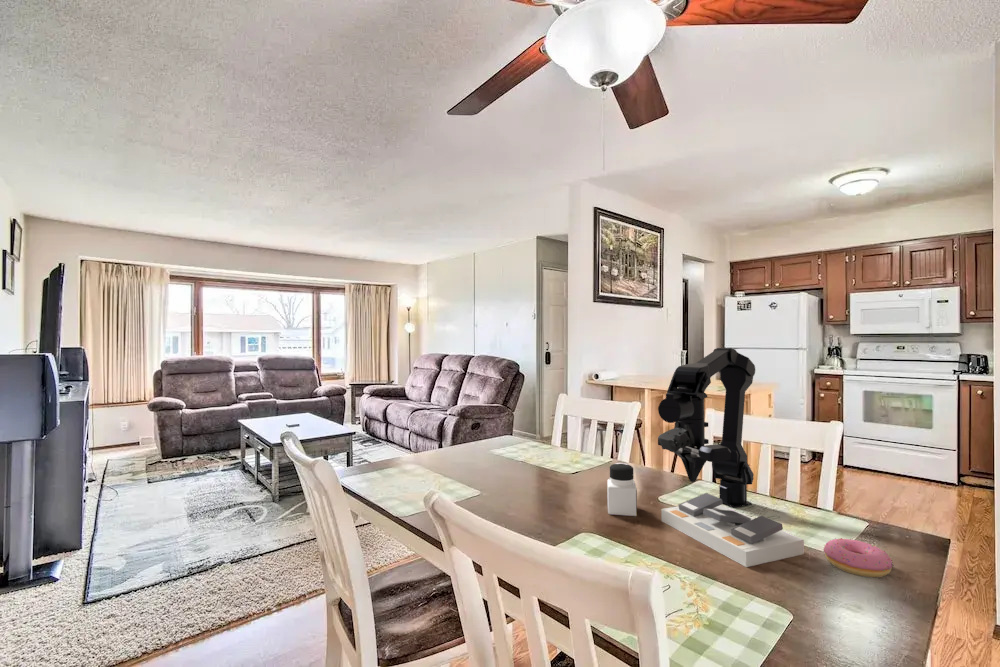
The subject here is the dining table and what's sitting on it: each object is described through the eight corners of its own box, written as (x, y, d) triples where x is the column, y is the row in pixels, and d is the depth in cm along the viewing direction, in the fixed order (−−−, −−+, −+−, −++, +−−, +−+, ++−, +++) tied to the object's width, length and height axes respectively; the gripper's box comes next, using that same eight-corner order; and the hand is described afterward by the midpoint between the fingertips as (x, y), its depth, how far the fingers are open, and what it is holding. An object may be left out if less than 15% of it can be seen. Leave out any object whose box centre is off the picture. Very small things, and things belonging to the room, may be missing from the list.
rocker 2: (762, 520, 104) (761, 515, 104) (782, 529, 99) (781, 523, 99) (731, 534, 101) (730, 528, 101) (751, 544, 96) (750, 538, 96)
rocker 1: (707, 497, 119) (706, 492, 119) (722, 503, 114) (721, 498, 114) (679, 509, 116) (678, 504, 116) (694, 516, 111) (693, 511, 111)
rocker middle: (732, 515, 111) (732, 510, 111) (750, 523, 106) (750, 517, 107) (702, 513, 108) (703, 507, 108) (719, 521, 103) (720, 515, 103)
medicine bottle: (637, 516, 119) (636, 469, 119) (608, 514, 121) (607, 467, 121) (634, 506, 126) (634, 462, 126) (607, 505, 128) (607, 460, 128)
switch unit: (712, 512, 122) (711, 498, 122) (803, 554, 98) (803, 536, 98) (661, 521, 116) (661, 506, 116) (746, 567, 93) (746, 548, 93)
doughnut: (821, 550, 101) (821, 530, 101) (886, 562, 95) (886, 541, 95) (826, 572, 91) (825, 550, 91) (899, 587, 86) (899, 564, 86)
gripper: (640, 414, 121) (640, 474, 121) (693, 427, 103) (694, 498, 103) (675, 411, 125) (675, 469, 125) (732, 423, 107) (733, 491, 107)
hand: (692, 481), depth 115 cm, fingers closed
